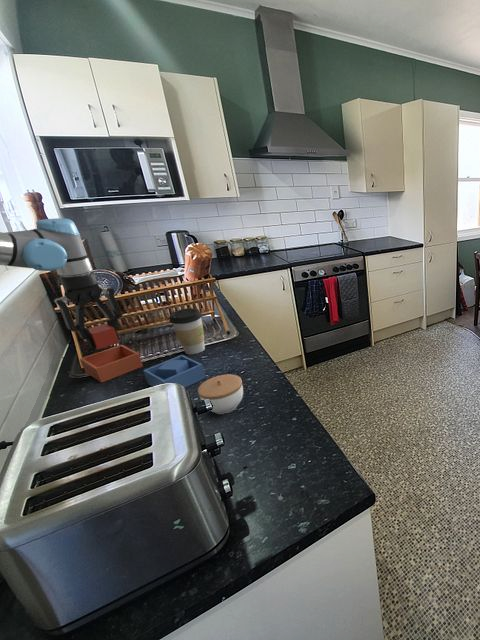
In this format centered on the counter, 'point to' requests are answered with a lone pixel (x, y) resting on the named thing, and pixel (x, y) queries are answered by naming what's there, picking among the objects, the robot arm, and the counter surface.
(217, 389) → the trinket box
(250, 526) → the counter surface
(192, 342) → the coffee cup
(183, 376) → the blue bin
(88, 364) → the rust bin
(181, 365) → the blue block
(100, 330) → the rust block
